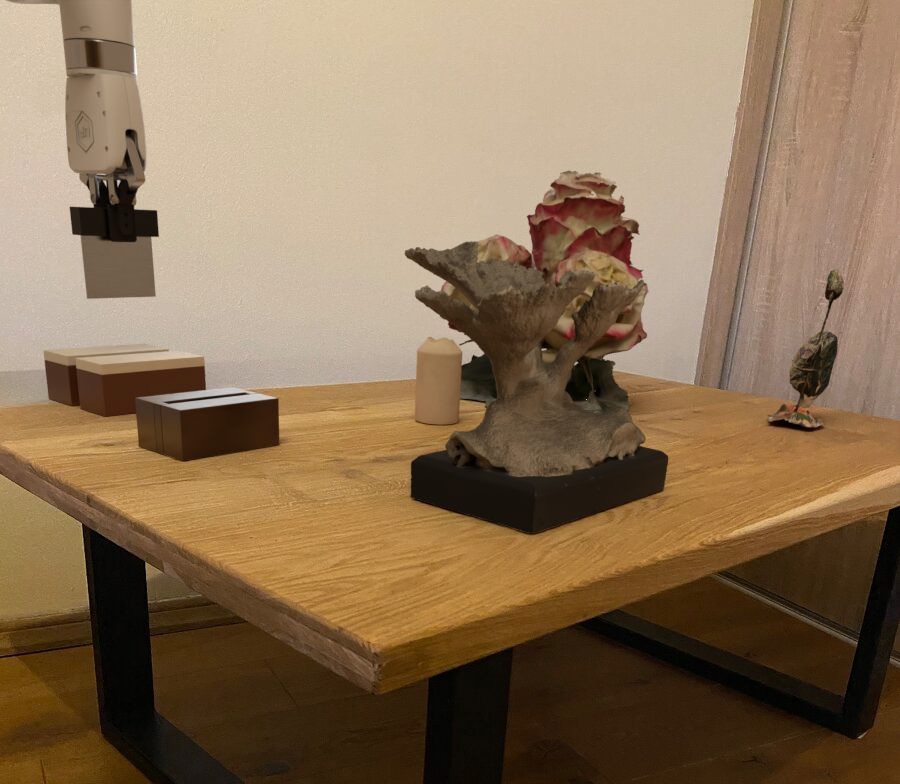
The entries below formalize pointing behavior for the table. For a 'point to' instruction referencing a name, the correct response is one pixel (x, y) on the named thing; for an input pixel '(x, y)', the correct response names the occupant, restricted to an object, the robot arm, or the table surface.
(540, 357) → the coral
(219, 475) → the table surface
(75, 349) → the wooden blocks
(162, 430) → the brown wooden slotted box
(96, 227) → the dark piece
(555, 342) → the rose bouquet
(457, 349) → the candle
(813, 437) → the table surface
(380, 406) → the table surface
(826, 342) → the plant with pod
